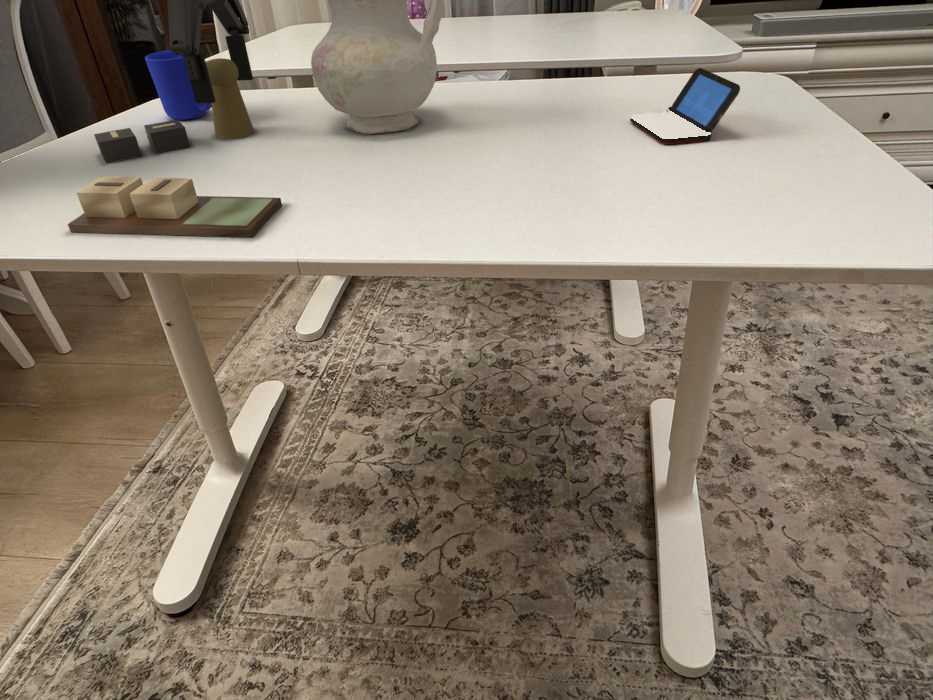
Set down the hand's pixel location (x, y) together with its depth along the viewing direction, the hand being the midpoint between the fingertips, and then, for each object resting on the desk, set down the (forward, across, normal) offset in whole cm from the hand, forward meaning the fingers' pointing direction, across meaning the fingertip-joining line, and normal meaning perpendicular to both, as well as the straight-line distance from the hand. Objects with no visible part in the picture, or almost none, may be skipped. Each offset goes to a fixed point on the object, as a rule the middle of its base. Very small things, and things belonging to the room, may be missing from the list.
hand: (226, 90), depth 99 cm
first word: (+6, -9, +11) cm, 15 cm away
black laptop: (+8, +3, -69) cm, 69 cm away
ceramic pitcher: (+7, +6, -24) cm, 25 cm away
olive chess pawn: (+7, 0, 0) cm, 7 cm away
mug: (+7, +9, +12) cm, 16 cm away
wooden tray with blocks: (+7, -33, -8) cm, 34 cm away
